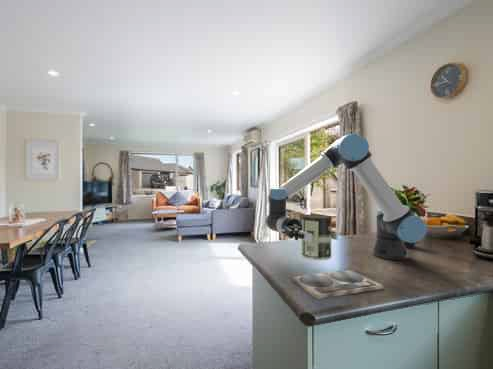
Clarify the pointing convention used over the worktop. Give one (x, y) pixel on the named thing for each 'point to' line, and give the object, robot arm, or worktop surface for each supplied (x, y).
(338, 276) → the board
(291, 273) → the worktop surface
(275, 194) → the robot arm
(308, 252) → the coffee can
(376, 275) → the worktop surface
